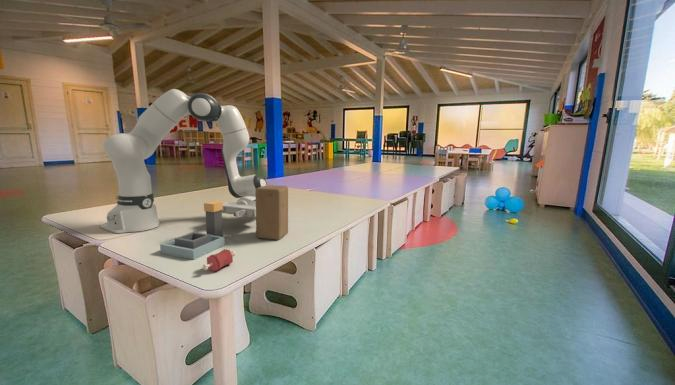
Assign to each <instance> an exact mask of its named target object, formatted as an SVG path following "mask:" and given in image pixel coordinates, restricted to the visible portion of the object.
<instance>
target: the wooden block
mask: <svg viewBox="0 0 675 385" xmlns="http://www.w3.org/2000/svg"><path fill="white" fill-rule="evenodd" d="M255 196H256V217H255V232H256V234H255V235H256V238H258V239H265V240H267V239H268V240H276V241H278V240H281V239H282V238H284V237H285V236H286V235H288V233H289V187H288V186H287V185H273V184H267V185H265V186H262V187H259V188H256V190H255Z"/></svg>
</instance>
